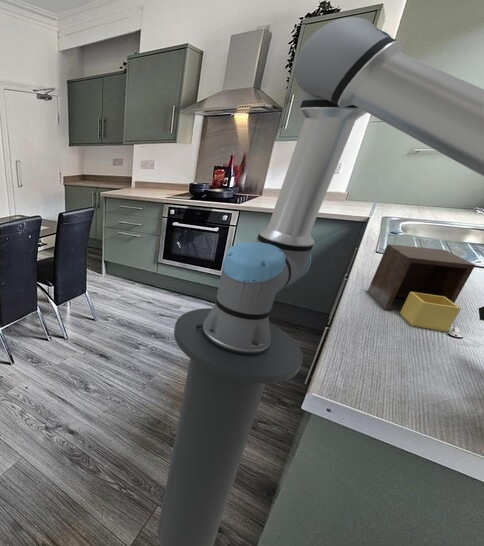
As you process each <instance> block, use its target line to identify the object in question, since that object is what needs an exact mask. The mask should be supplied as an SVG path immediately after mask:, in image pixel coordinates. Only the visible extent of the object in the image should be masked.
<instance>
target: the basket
mask: <svg viewBox="0 0 484 546" xmlns="http://www.w3.org/2000/svg"><path fill="white" fill-rule="evenodd" d="M461 310H462V307H460V306H458V305H457V304H456V303H453V302H452V301H450V300H449V299H447V298H446V297H444V296H437V295H430V294H423V293H416V292H410V293H409V295H408V297H407V298H405V301H404V303H403V305H402V308H401V310H400V311H399V315H401V317H402V318H403V319H404V320H405V321H406V322H407V323H409V325H410V326H411V327H417V328H423V329H428V330H435V331H439V332H440V331H441V332H446V333H448V332H449V330H450V328H451V327H452V325H453V324H454V322H455V320H456V318H457V316H458V315H459V314H460V312H461Z"/></svg>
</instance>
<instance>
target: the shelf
mask: <svg viewBox="0 0 484 546" xmlns="http://www.w3.org/2000/svg"><path fill="white" fill-rule="evenodd" d="M475 267H476V264H474V263H473V262H470V261H468V260H467V259H464V258H463V257H460V256H459V255H456V254H455V253H452V252H450V251H449V250H446V249H440V248H431V247H430V248H429V247H419V246H411V245H400V244H389V243H388V244H386V247H385V249H384V252H383V254H382V256H381V259H380V261H379V264H378V266H377V268H376V271H375V273H374V275H373V277H372V280H371V282H370V284H369V287H368V289H367V293H368V294H369V295H370V296H371V297H372V298H373V299H374V300H375V301H376V303H378V305H379V306H380V307H381V308H382V309H383V310H385V311H389V310H390V308H391V306H392V305H393V302H394V300H395V298H402V299H407V297H408V295H409V293H410V292H416V293H423V294H430V295H437V296H444V297H446V298H447V299H449V300H450V301H452V302H453V303H454V304H456V303H455V302H456V301H457V299H458V298H459V295H460V294H461V292H462V290H463V288H464V287H465V285H466V283H467V281H468V279H469V277H470V276H471V274H472V272H473V271H474V269H475Z"/></svg>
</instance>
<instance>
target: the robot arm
mask: <svg viewBox="0 0 484 546" xmlns="http://www.w3.org/2000/svg"><path fill="white" fill-rule="evenodd" d="M294 78H295V83H296V84H297V86H298V88H300V90H302V91H303V92H304V94H303V97H302V100H301V103H300V106H299V112H300V113H301V115H302V116H303V119H304V120H303V123H302V126H301V129H300V132H299V135H298V138H297V141H296V143H295V146H294V150H293V152H292V155H291V158H290V162H289V165H288V167H287V170H286V172H285V176H284V179H283V182H282V185H281V188H280V191H279V193H278V198H277V200H276V203H275V205H274V208H273V211H272V214H271V216H270V221H269V223H268V225H267V226H266V227H264V228H262V229H260V230H259V232H258V234H257V237H256V240H255V241H249V242H239V243H236V244H234V245H232V246H230V247H229V249H227V251H226V253H225V257H224V259H223V261H222V269H221V273H220V274H221V275H220V279H219V283H218V289H217V293H216V299H215V303H214V305H213V306H212V307H211V308H212V310H211V311H210V313H209V314H208V316H207V317H206V319H205V320H204V322H203V324H200V325H196V328H202V333H203V335H204V337H205V338H206V339H207V340H208V341H209V342H210V343H211V344H213V345H214V346H216V347H218V348H220V349H222V350H224V351H227V352H230V353H233V354H238V355H244V356H256V355H261V354H264V353H265V352H267V351H268V349H269V346H270V343H271V334H270V325H269V323H270V319H269V318H270V314H271V311H272V307H273V304H274V300H275V298H276V294H277V293H279V292H280V291H282V290H284V289H285V288H287V287H288V286H290V285H292V284H295V283H297V282H298V281H299V280H301V279H302V278H303V277H304V276H305V275H306V274H307V272H308V271H309V270H310V267H311V263H312V254H311V252H312V250H313V247H314V245H315V240H314V238H313V237H312V235H311V232H312V230H313V227H314V225H315V222H316V220H317V217H318V214H319V212H320V209H321V207H322V204H323V202H324V199H325V198H326V195H327V192H328V189H329V187H330V184H331V182H332V180H333V177H334V175H335V173H336V170H337V167H338V165H339V164H340V163H339V162H340V160H341V158H342V155H343V153H344V150H345V147H346V145H347V143H348V140H349V137H350V136H351V133H352V130H353V128H354V126H355V123H356V122H357V120H359V119H360V118H361V117H363V116H365V115H366V114H369V115H371V116H373V117H375V118H376V119H379V120H380V121H381V122H384V123H386V124H387V125H389V126H391V127H393V128H395V129H397V130H398V131H400V132H401V133H404V134H405V135H407V136H409V137H411V138H412V139H415V140H416V141H419V142H420V143H422V144H423V145H425V146H428V147H429V148H431V149H432V150H434V151H437V152H439V153H440V154H442V155H443V156H446V157H448V158H449V159H451V160H453V161H455V162H457V163H458V164H460V165H462V166H463V167H466V168H467V169H469V170H471V171H472V172H474V173H476V174H478V175H480V176H482V177H484V88H482V87H479V86H477V85H475V84H473V83H470V82H468V81H465V80H463V79H461V78H459V77H456V76H454V75H453V74H450V73H448V72H446V71H443V70H441V69H438V68H437V67H434V66H431V64H427V63H425V62H423V61H420V60H418V59H416V58H414V57H412V56H409V55H407V54H405V53H403V52H402V42H401V41H400V40H397V39H395V38H393V37H392V36H391V35H390V34H389V33H387V32H386V31H383V30H382V29H380V28H379V27H377V26H376V25H374V24H373V23H372V22H371V20H370V21H369V20H368V19H366V18H363V17H358V16H348V17H342V18H338V19H335V20H333V21H331V22H328V23H327V24H325V25H324V26H322V27H321V28H318V29H317V30H316V31H315V32H314V33H313V34H311V36H310V37H309V38H308V39H307V40H306V41H305V43H304V44H303V45H302V47H301V49H300V51H299V53H298V54H297V57H296V60H295V63H294ZM478 317H479V321H484V306H481V307H478Z"/></svg>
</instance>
